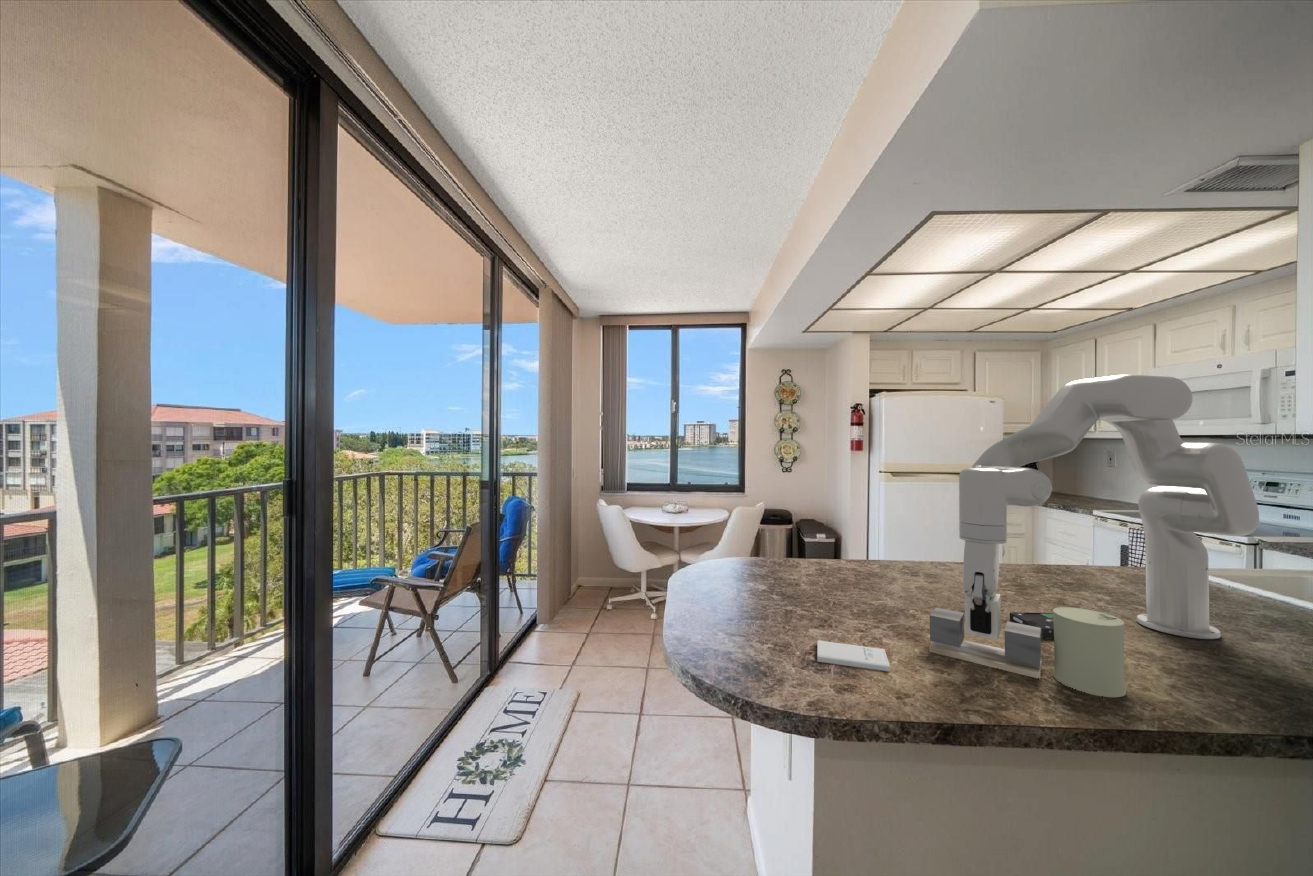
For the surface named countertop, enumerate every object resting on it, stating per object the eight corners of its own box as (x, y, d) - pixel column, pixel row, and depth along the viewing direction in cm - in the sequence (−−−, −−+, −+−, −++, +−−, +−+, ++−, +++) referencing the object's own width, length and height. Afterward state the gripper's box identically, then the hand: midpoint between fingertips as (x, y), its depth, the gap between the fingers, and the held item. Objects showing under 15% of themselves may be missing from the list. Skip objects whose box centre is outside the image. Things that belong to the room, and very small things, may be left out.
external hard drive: (817, 647, 97) (884, 656, 93) (817, 664, 89) (890, 674, 85) (817, 639, 97) (884, 647, 93) (817, 656, 89) (890, 665, 85)
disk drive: (1043, 642, 100) (1116, 642, 99) (1042, 629, 100) (1115, 629, 100) (1008, 624, 110) (1074, 624, 110) (1008, 611, 110) (1074, 612, 110)
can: (1142, 700, 76) (1140, 624, 76) (1076, 695, 78) (1075, 621, 78) (1099, 673, 85) (1098, 605, 85) (1041, 669, 87) (1040, 602, 87)
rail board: (936, 640, 99) (936, 606, 99) (1041, 665, 88) (1040, 627, 88) (929, 651, 94) (929, 615, 94) (1040, 679, 83) (1039, 638, 83)
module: (969, 624, 95) (969, 588, 95) (1000, 631, 92) (1000, 593, 92) (965, 633, 90) (965, 595, 90) (997, 640, 87) (997, 600, 87)
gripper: (966, 525, 100) (966, 611, 100) (951, 536, 87) (952, 635, 87) (1010, 529, 95) (1010, 619, 95) (1002, 541, 82) (1003, 646, 82)
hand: (982, 626), depth 91 cm, fingers closed on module, 6 cm apart
